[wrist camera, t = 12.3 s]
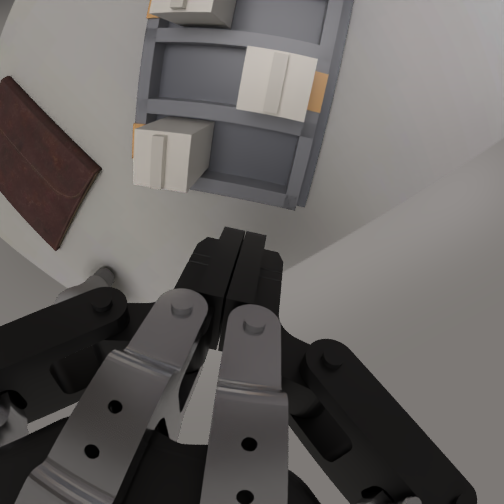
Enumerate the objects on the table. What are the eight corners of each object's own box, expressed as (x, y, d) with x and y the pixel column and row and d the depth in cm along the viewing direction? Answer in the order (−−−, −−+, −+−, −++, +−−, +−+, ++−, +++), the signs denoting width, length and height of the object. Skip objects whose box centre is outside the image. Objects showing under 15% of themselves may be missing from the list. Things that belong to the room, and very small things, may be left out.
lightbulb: (110, 245, 32) (59, 307, 23) (138, 284, 34) (98, 351, 25) (82, 259, 34) (35, 316, 25) (108, 294, 36) (70, 354, 27)
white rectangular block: (310, 65, 18) (318, 58, 13) (300, 112, 20) (304, 123, 15) (258, 55, 18) (245, 44, 13) (249, 102, 21) (233, 110, 15)
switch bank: (352, -7, 15) (361, -19, 12) (304, 202, 26) (305, 219, 23) (164, -26, 15) (148, -37, 12) (139, 171, 26) (122, 184, 23)
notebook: (61, 246, 34) (53, 254, 32) (-15, 161, 27) (-24, 166, 26) (104, 166, 27) (94, 173, 25) (13, 74, 21) (1, 77, 19)
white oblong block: (214, 121, 22) (188, 136, 16) (208, 167, 24) (183, 196, 18) (168, 116, 22) (130, 130, 16) (165, 160, 24) (129, 187, 18)
